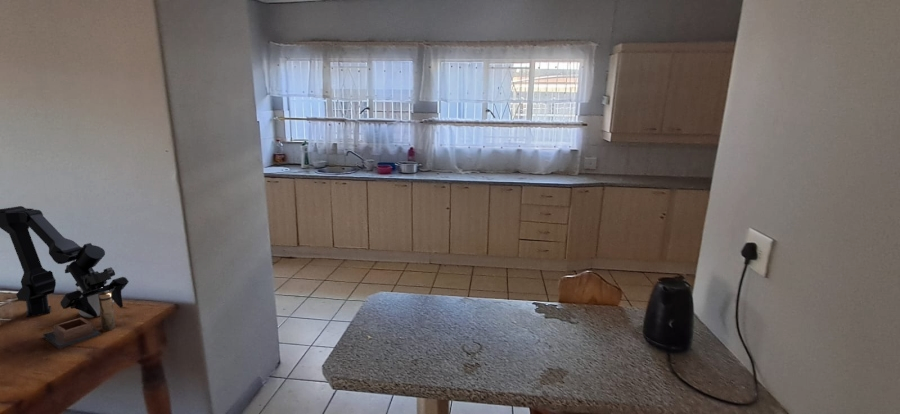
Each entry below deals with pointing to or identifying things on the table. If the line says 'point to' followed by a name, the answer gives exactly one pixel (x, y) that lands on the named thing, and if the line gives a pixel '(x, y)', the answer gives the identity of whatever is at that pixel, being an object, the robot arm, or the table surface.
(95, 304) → the mug
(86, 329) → the frame
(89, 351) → the table surface
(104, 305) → the gold metallic cylinder
